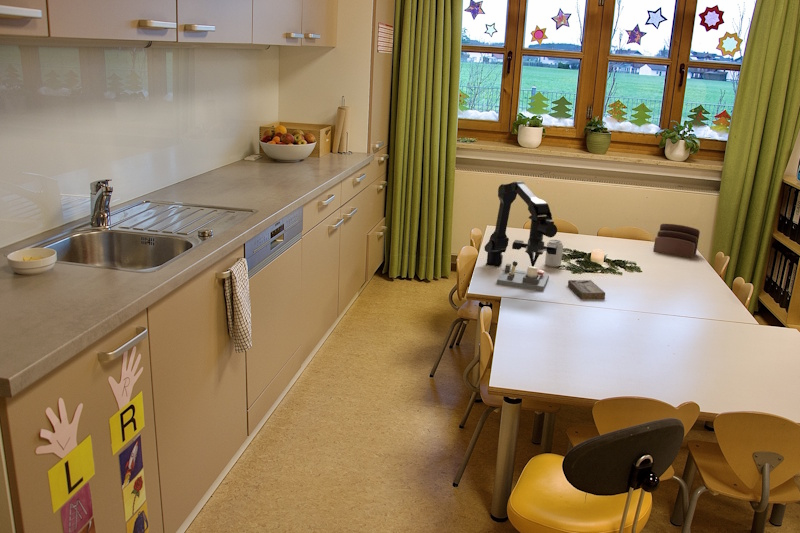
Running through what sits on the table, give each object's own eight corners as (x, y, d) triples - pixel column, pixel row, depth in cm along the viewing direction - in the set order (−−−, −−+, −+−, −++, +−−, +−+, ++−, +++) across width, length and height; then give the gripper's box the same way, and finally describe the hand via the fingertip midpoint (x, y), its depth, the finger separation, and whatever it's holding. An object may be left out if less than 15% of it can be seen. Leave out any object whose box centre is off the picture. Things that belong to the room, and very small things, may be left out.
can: (560, 268, 350) (563, 243, 347) (544, 266, 352) (547, 242, 348) (560, 263, 358) (563, 239, 354) (544, 262, 359) (547, 238, 355)
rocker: (527, 271, 330) (528, 267, 330) (528, 268, 334) (529, 265, 333) (542, 276, 329) (543, 273, 328) (543, 274, 332) (544, 270, 332)
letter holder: (656, 247, 396) (661, 221, 392) (696, 254, 387) (700, 228, 383) (652, 251, 388) (657, 225, 384) (692, 258, 379) (697, 231, 375)
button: (525, 277, 322) (526, 268, 320) (527, 274, 326) (528, 265, 324) (536, 278, 320) (537, 269, 319) (537, 275, 324) (538, 267, 323)
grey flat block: (580, 300, 311) (581, 293, 310) (567, 286, 327) (567, 279, 326) (605, 300, 312) (606, 293, 311) (590, 286, 329) (591, 279, 328)
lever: (508, 277, 325) (512, 261, 323) (509, 275, 327) (513, 259, 325) (512, 278, 325) (517, 262, 322) (513, 277, 327) (518, 261, 324)
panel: (495, 283, 324) (496, 274, 322) (503, 272, 340) (504, 263, 339) (543, 291, 318) (544, 281, 317) (548, 278, 334) (549, 269, 333)
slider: (504, 271, 334) (505, 265, 333) (506, 269, 337) (506, 263, 336) (509, 271, 334) (510, 265, 333) (510, 270, 336) (511, 264, 335)
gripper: (511, 232, 312) (508, 268, 317) (556, 238, 307) (552, 274, 312) (516, 226, 322) (512, 261, 327) (559, 232, 317) (555, 267, 322)
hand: (532, 266), depth 322 cm, fingers closed
